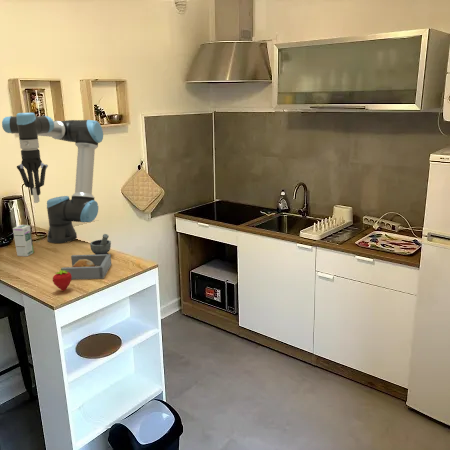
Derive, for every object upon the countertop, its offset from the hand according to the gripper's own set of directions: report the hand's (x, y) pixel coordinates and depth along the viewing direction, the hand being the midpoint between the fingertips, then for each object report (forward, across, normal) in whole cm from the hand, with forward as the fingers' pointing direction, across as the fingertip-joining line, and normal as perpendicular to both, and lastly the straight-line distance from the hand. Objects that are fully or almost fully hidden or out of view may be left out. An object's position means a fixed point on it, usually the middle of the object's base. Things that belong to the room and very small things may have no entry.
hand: (36, 202), depth 205 cm
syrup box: (+30, -14, +14) cm, 36 cm away
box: (+29, +22, -12) cm, 39 cm away
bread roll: (+30, +21, -13) cm, 39 cm away
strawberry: (+30, +18, -32) cm, 47 cm away
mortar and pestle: (+30, +25, +8) cm, 40 cm away
